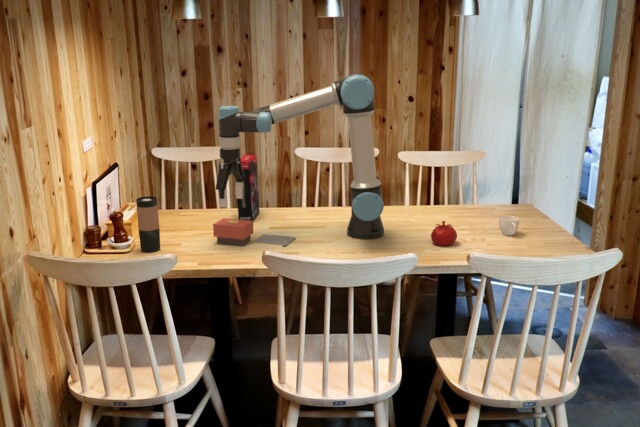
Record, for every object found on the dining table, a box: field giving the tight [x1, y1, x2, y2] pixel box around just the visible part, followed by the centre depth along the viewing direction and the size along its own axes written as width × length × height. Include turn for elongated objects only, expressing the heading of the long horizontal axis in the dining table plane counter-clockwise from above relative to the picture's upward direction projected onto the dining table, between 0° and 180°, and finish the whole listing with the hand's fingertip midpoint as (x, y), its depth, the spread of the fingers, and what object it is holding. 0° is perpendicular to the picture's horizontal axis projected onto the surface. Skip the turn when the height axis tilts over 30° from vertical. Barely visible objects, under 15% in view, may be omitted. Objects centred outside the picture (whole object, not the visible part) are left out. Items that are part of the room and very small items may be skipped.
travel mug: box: [135, 195, 161, 254], centre depth 235 cm, size 8×8×20 cm
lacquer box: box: [216, 235, 251, 247], centre depth 244 cm, size 11×7×8 cm, turn 72°
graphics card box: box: [235, 154, 260, 222], centre depth 277 cm, size 17×7×27 cm, turn 175°
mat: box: [252, 233, 297, 248], centre depth 247 cm, size 14×11×1 cm
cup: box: [498, 215, 520, 237], centre depth 253 cm, size 8×10×7 cm
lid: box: [212, 217, 254, 240], centre depth 243 cm, size 13×9×5 cm
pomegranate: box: [430, 220, 458, 247], centre depth 242 cm, size 10×10×9 cm
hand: (231, 202), depth 241 cm, fingers open, 13 cm apart
